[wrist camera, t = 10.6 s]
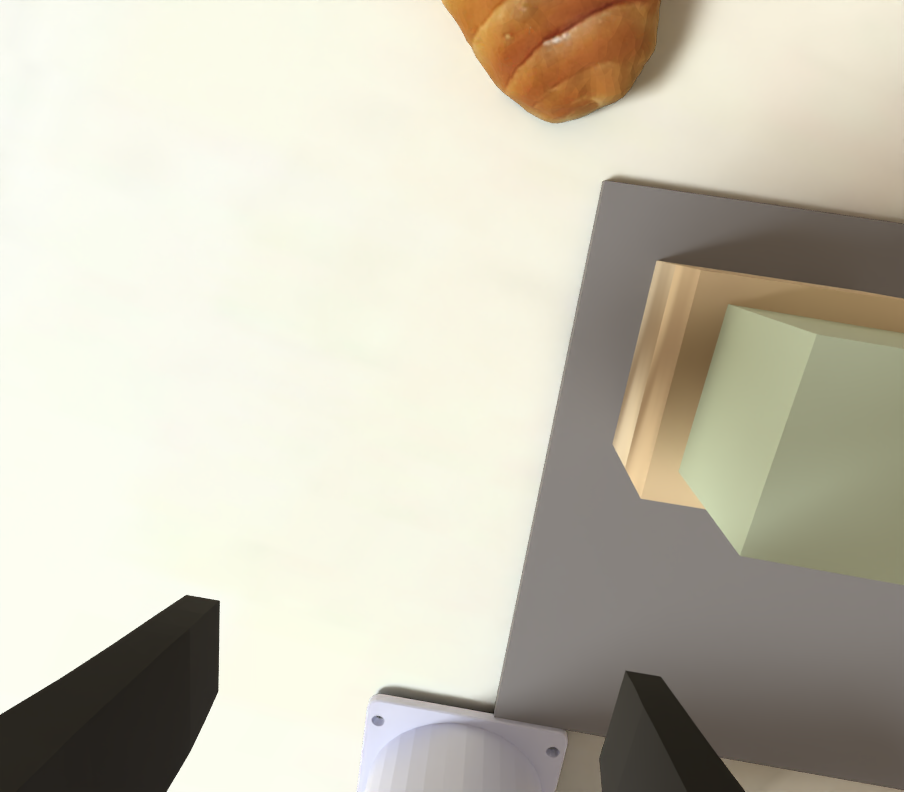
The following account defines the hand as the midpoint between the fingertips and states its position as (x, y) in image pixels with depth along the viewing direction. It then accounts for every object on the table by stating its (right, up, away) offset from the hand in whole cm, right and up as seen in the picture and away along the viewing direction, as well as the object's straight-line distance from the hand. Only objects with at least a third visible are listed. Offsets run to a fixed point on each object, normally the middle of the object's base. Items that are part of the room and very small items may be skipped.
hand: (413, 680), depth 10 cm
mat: (+12, +1, +10) cm, 15 cm away
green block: (+9, +5, +4) cm, 11 cm away
